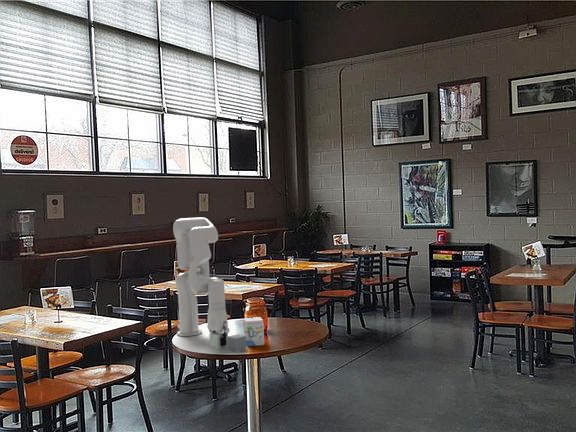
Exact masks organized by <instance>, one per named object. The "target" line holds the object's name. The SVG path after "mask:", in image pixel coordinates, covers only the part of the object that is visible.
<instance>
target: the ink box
mask: <svg viewBox="0 0 576 432" xmlns="http://www.w3.org/2000/svg"><path fill="white" fill-rule="evenodd" d="M243 336H246V347H253V346H264V345H265V331H264V322H263V319H262V318H261V317H253V318H248V317H244V318H243Z"/></svg>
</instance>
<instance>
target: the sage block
mask: <svg viewBox="0 0 576 432" xmlns="http://www.w3.org/2000/svg"><path fill="white" fill-rule="evenodd" d="M222 333H224V332H222ZM208 335H209V347H211V348H215V349H221V348H225V347H228V344H227V345H225V346H220V338H221V335H220V332H214V333H210V332H209V334H208ZM227 337H229V333H228V334H227ZM227 337H226V342H227Z"/></svg>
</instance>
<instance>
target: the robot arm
mask: <svg viewBox="0 0 576 432" xmlns="http://www.w3.org/2000/svg"><path fill="white" fill-rule="evenodd" d="M172 230H173V231H172V232H173V236H174V238H175V241H176V254H177V255H176V256H177V257H176V258H177V266H178V268H179V269H180V270H182V271H183V270H185V271H186V270H189V271H186V272H181V273H179V274H177V276H176V277H175V281H174V282H175V287H176V291H177V298H178V299H177V300H178V301H177V302H178V316H179V317H178V318H179V321H178V322H179V324H178V325H177V326H176V327H177V329H179V330H178V331H177V332H176V335H177V336H178V337H193V336H199V335H200V334H202V332H203V330H202V329H199V311H198V298H197V296H199V295H200V296H201V295H207V294H208V310H207V323H206V324H207V325H206V327H207V329H208V331H209V334H210V333H214V332H220V335H221V338H220V346H225V345H227V342H226V337H227V334H228V335H229V332H230V327H228V326H229V325H228V322H229V321H228V315H227V310H226V294H225V293H226V292H225V291H226V290H225V281H224V279H222V278H218V277H217V276H210V261H209V260H210V259H211V257H212V252H211V250H210V245H209V244H214V243H216V242H217V241H218V239H219V232H218V230H217V228H216V226H215V225H214V224H213V223H212V222H211V221H210V220H209V219H208V218H206V217H185V218H178V219H176V220H175V221H174V222H173V225H172ZM222 332H224V333H222ZM225 347H226V346H225Z"/></svg>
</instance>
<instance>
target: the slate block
mask: <svg viewBox="0 0 576 432" xmlns="http://www.w3.org/2000/svg"><path fill="white" fill-rule="evenodd" d="M227 344H228V346H227V350H228V351H231V352H233V353H234V352H235V353H238V352H241V351H244V350H245V351H246V350H247V347H248V346H246V336H244V334H239V333H238V334H233V335H230V336H229V335H228V337H227Z"/></svg>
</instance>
